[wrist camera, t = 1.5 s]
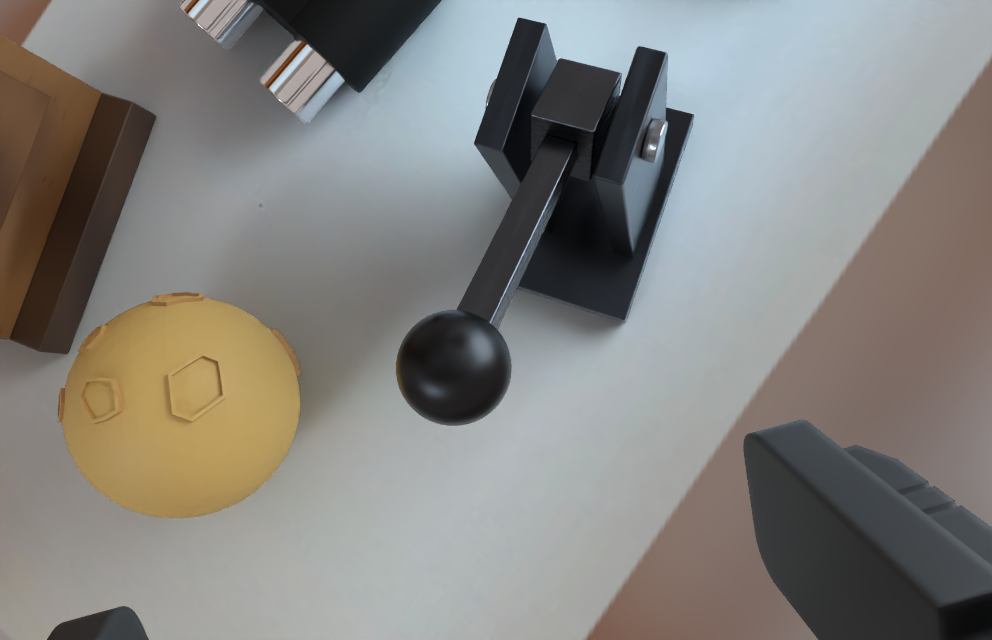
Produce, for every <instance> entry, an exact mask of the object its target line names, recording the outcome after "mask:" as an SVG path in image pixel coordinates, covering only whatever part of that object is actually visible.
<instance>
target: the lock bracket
mask: <svg viewBox="0 0 992 640" xmlns="http://www.w3.org/2000/svg"><path fill="white" fill-rule="evenodd" d="M667 63H668V54H667V53H666V52H662V51H658V50H653V49H649V48H645V47H641V46H639V47H638V48H637V49H636V52H635V55H634V58H633V60H632V63H631V66H630V69H629V72H628V75H627V78H626V81H625V84H624V87H623V90H622V93H621V95H620V96H619V101H618V104H617V107H616V110H615V113H614V116H613V119H612V122H611V125H610V127H609V130H608V133H607V136H606V139H605V142H604V145H603V148H602V151H601V154H600V157H599V159H598V162H597V165H596V168H595V171H594V174H593V176H592V178H591V180H590V181H587V180H583V179H580V178H576V177H573V176H569V178H568V181H567V183H566V185H565V187H564V189H563V191H562V193H561V195H560V198H559V200H558V202H557V204H556V206H555V208H554V210H553V212H552V215H551V217H550V219H549V221H548V223H547V225H546V227H545V229H544V232H543V234H542V236H541V238H540V240H539V242H538V244H537V246H536V249H535V251H534V253H533V255H532V257H531V259H530V261H529V264H528V266H527V268H526V270H525V272H524V274H523V276H522V278H521V281H520V283H519V285H518V287H517V289H520V290H523V291H526V292H529V293H533V294H536V295H539V296H542V297H545V298H548V299H551V300H554V301H557V302H560V303H564V304H567V305H570V306H573V307H576V308H579V309H582V310H585V311H588V312H592V313H595V314H598V315H601V316H604V317H607V318H610V319H613V320H616V321H619V322H623V323H626V320H627V318H628V315H629V312H630V309H631V306H632V303H633V300H634V297H635V294H636V291H637V288H638V285H639V282H640V279H641V276H642V273H643V270H644V267H645V264H646V261H647V258H648V255H649V253H650V250H651V247H652V244H653V241H654V238H655V235H656V232H657V229H658V226H659V223H660V220H661V217H662V214H663V211H664V208H665V205H666V202H667V199H668V196H669V193H670V190H671V188H672V185H673V182H674V179H675V176H676V173H677V170H678V167H679V164H680V161H681V158H682V155H683V152H684V149H685V146H686V143H687V140H688V137H689V134H690V131H691V128H692V125H693V119H694V115H693V114H690V113H686V112H682V111H678V110H674V109H670V108H666V91H667ZM556 64H557V60H556V56H555V53H554V49H553V46H552V42H551V39H550V35H549V32H548V28H547V25H546V24H544V23H540V22H536V21H532V20H527V19H523V18H518V19H517V22H516V25H515V28H514V31H513V34H512V36H511V39H510V42H509V45H508V48H507V51H506V53H505V56H504V59H503V62H502V65H501V68H500V71H499V73H498V76H497V79H495V80H494V82H493V83H492V85H491V87H490V90H489V92H488V96H487V101H486V110H485V113H484V116H483V119H482V122H481V125H480V127H479V130H478V133H477V136H476V139H475V142H474V145H475V146H476V147H477V149H478V150H479V152H480V153H481V155H482V156H483V158H484V159H485V161H486V162H487V164H488V165H489V167H490V168H491V169H492V171H493V172H494V174H495V175H496V177H497V178H498V180H499V181H500V183H501V184H502V186H503V187H504V188H505V190H506V191H507V193H508V194H509V196H510V197H511V199H512V200H513V198H514V196H515V194H516V192H517V190H518V188H519V186H520V184H521V182H522V180H523V178H524V176H525V174H526V172H527V170H528V168H529V166H530V164H531V163H530V113H531V111H532V109H533V107H534V106H535V104H536V102H537V100H538V98H539V96H540V94H541V92H542V90H543V89H544V87H545V85H546V83H547V81H548V79H549V77H550V75H551V73H552V72H553V70H554V68H555V66H556Z"/></svg>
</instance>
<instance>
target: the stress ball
mask: <svg viewBox="0 0 992 640" xmlns="http://www.w3.org/2000/svg"><path fill="white" fill-rule="evenodd" d="M79 352H80V353H79V355H78V356H77V358H76V360H75V362H74V364H73V366H72V368H71V370H70V372H69V374H68V378H67V381H66V385H65V388H61V390H60V394H59V405H58V422H62V425H63V431H64V436H65V439H66V443H67V446H68V449H69V452H70V454H71V456H72V458H73V459H74V461H75V463H76V465H77V467H78V468H79V470H80V471H81V472H82V474H83V475H84V477H85V478H86V479H87V480H88V481H89V482H90V483H91V484H92V485H93V486H94V487H95V488H96V489H97V490H98V491H99V492H101V493H102V494H103V495H105V496H106V497H107V498H109V499H110V500H112V501H114V502H115V503H117V504H119V505H121V506H122V507H125V508H127V509H130V510H132V511H135V512H138V513H142V514H145V515H149V516H154V517H162V518H189V517H197V516H203V515H206V514H210V513H214V512H217V511H220V510H222V509H225V508H227V507H230V506H232V505H234V504H236V503H237V502H239V501H241V500H243V499H245V498H246V497H248V496H249V495H250V494H252V493H253V492H255V491H256V490H257V489H259V488H260V487H261V486H262V485H263V484H264V483H265V482H266V481H267V480H268V479H269V478H270V477H271V476H272V474H273V473H274V472H275V471H276V470H277V468H278V467H279V466H280V464H281V463H282V461H283V460H284V458H285V457H286V455H287V453H288V451H289V449H290V446H291V444H292V442H293V440H294V437H295V433H296V430H297V426H298V421H299V414H300V389H299V384H298V379H297V377H299V376H301V374H300V369H299V364H298V361H297V358H296V356H295V353H294V351H293V349H292V348H291V347H290V345H289V344H288V342H287V341H286V339H285V338H284V337H283V336H282V335H281V334H280V333H279V332H278V331H277V330H276V329H275V328H274V329H271V330H269V329H268V328H267V327H266V326H265V325H264V324H263V323H261V322H260V321H259V320H258V319H256V318H255V317H253V316H252V315H250V314H249V313H248V312H246V311H244V310H241V309H239V308H237V307H235V306H233V305H230V304H227V303H225V302H222V301H218V300H213V299H208V298H204V294H197V293H188V292H186V293H171V294H164V295H158V296H154V297H153V298H152V301H150V302H147V303H144V304H141V305H138V306H136V307H134V308H131V309H129V310H127V311H125V312H124V313H122V314H120V315H118V316H116V317H115V318H114V319H112V320H111V321H109V322H108V323H107V324H105V325H102V326H99V327H97V328H96V329H95V330H94V331H93V332H92V333H91V334H90V335H89V336H88V337H87V338H86V339H85V340H84V341H83V343H82V345H81V347H80V349H79Z"/></svg>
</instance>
